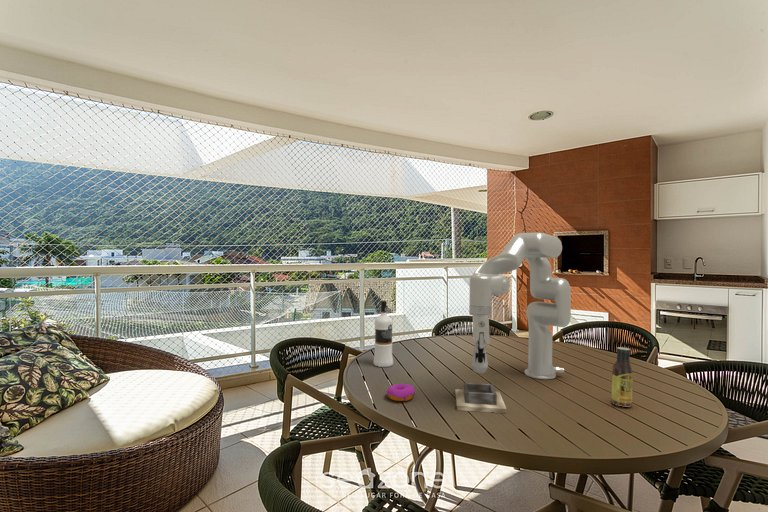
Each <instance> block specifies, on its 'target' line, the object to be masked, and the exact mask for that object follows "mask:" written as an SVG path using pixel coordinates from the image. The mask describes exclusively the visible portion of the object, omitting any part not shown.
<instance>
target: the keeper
mask: <svg viewBox="0 0 768 512" xmlns="http://www.w3.org/2000/svg"><path fill="white" fill-rule="evenodd" d="M462 388H463V389H461V388H455V389H454V391H455V392H454V394H455V403H456V411H461V412H463V411H465V412H476V411H477V412H478V413H479V412H481V413H491V412H494V414H495V413H496V414H506V413H507V410H508V409H507V407H506V404H505V401H504V400H503V398H502V395H501V392H500V391H496V388H495V387H494V384H492V383H478V382H477V383H474V382H463V387H462ZM477 412H476V413H477Z"/></svg>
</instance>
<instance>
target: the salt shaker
mask: <svg viewBox="0 0 768 512" xmlns="http://www.w3.org/2000/svg"><path fill="white" fill-rule="evenodd" d="M478 344H479V342H478ZM478 347H479V346H478ZM475 352H476V344H475V343H474V347H473V353H472V357H471V358H472V359H471V364H470V365H471V368H472V371H473V372H474V373H476V374H484V373H486V372H487V369H488V368H489V363H488V357H487V352H486V349H485V362H484V359H483V362H482V363H479V362H478V358H477V359H476V363H475Z"/></svg>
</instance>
